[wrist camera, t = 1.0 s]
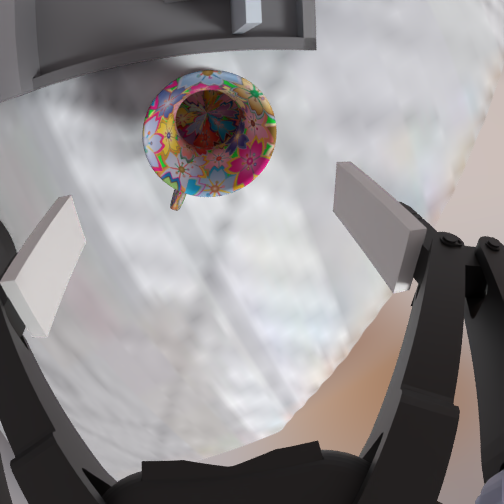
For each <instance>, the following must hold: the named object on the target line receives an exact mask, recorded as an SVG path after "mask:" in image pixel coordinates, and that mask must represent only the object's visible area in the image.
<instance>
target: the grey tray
mask: <svg viewBox="0 0 504 504" xmlns="http://www.w3.org/2000/svg"><path fill="white" fill-rule="evenodd" d="M261 13H262V23H261V24H259V25H257V26H255V27H254V28H252V29H250V30H248V31H247V32H245V33H243V34H232V24H231V3H230V0H187V1H179V2H171V3H165V2H164V1H163V0H0V103H1V102H4V101H7V100H9V99H12V98H15V97H18V96H21V95H24V94H26V93H29V92H32V91H35V90H37V89H40V88H43V87H46V86H49V85H52V84H55V83H58V82H62V81H65V80H68V79H71V78H75V77H78V76H82V75H86V74H89V73H93V72H97V71H101V70H105V69H110V68H114V67H118V66H123V65H128V64H133V63H138V62H143V61H149V60H155V59H161V58H168V57H175V56H182V55H191V54H200V53H210V52H223V51H240V50H316V15H315V0H261Z"/></svg>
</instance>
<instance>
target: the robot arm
mask: <svg viewBox="0 0 504 504" xmlns="http://www.w3.org/2000/svg"><path fill="white" fill-rule="evenodd" d="M333 212H334V213H335V214H336V216H337V217H338V218H339V220H340V221H341V222H342V223H343V225H344V226H345V227H346V229H347V230H348V231H349V233H350V234H351V235H352V237H353V238H354V239H355V241H356V242H357V243H358V245H359V246H360V247H361V249H362V250H363V251H364V253H365V254H366V256H367V257H368V258H369V260H370V261H371V262H372V264H373V265H374V267H375V268H376V269H377V271H378V272H379V274H380V275H381V276H382V278H383V279H384V281H385V282H386V284H387V285H388V287H389V288H390V289H391V291H392V292H393V293H398V292H402V291H407V290H409V289H410V286H411V283H412V280H413V277H414V279H415V280H416V281H417V282H418V287H417V290H416V293H415V295H414V298H413V301H412V304H411V306H412V310H411V314H410V318H409V322H408V326H407V330H406V333H405V337H404V340H403V344H402V347H401V351H400V354H399V357H398V360H397V363H396V366H395V370H394V373H393V376H392V379H391V381H390V384H389V387H388V390H387V393H386V396H385V398H384V401H383V404H382V406H381V409H380V412H379V414H378V417H377V419H376V422H375V424H374V427H373V430H372V432H371V434H370V436H369V438H368V440H367V442H366V444H365V446H364V448H363V450H362V451H361V453H360V455H359V457H357V456H355V455H352V454H349V453H345V452H340V451H333V450H321V449H320V446H319V443H318V441H315V442H310V443H305V444H301V445H296V446H292V447H286V448H281V449H275V450H273V451H270V452H268V453H266V454H263V455H261V456H258V457H256V458H253V459H251V460H248V461H246V462H243V463H241V464H238V465H235V466H230V467H225V466H217V465H210V464H203V463H197V462H191V461H185V460H178V461H142V471H141V472H137V473H135V474H132V475H129V476H127V477H125V478H123V479H121V480H120V481H118V482H117V481H116V480H115V479H114V478H113V477H111V476H110V475H109V474H108V473H107V472H106V470H105V469H104V468H103V467H102V466H101V464H100V463H99V462H98V460H97V459H96V458H95V456H94V455H93V454H92V452H91V451H90V449H89V448H88V447H87V445H86V444H85V442H84V441H83V440H82V438H81V437H80V435H79V434H78V432H77V431H76V429H75V428H74V426H73V425H72V423H71V421H70V420H69V418H68V417H67V415H66V414H65V412H64V410H63V409H62V407H61V405H60V404H59V402H58V400H57V399H56V397H55V395H54V393H53V392H52V390H51V388H50V386H49V384H48V383H47V381H46V379H45V377H44V375H43V373H42V371H41V369H40V367H39V365H38V363H37V361H36V359H35V357H34V355H33V353H32V351H31V349H30V347H29V345H28V343H27V340H26V339H25V338H24V336H23V335H22V334H23V332H24V329H25V327H26V329H27V330H28V332H29V333H30V335H31V336H32V338H42V337H48V334H49V332H50V329H51V326H52V323H53V320H54V318H55V315H56V312H57V310H58V307H59V304H60V302H61V299H62V297H63V294H64V292H65V289H66V287H67V284H68V282H69V280H70V277H71V275H72V273H73V270H74V268H75V266H76V263H77V261H78V259H79V257H80V255H81V252H82V250H83V248H84V246H85V244H86V239H85V236H84V233H83V230H82V227H81V224H80V221H79V218H78V215H77V212H76V208H75V205H74V202H73V198H72V195H68V196H63V197H59V198H58V199H57V200H56V201H55V203H54V204H53V205H52V207H51V208H50V209H49V210H48V212H47V213H46V214H45V216H44V217H43V218H42V220H41V221H40V222H39V224H38V225H37V226H36V228H35V229H34V231H33V232H32V233H31V235H30V236H29V238H28V239H27V240H26V242H25V243H24V245H23V246H22V248H21V249H20V251H19V252H18V253H16V249H15V246H14V243H13V241H12V239H11V237H10V235H9V233H8V231H7V230H6V228H5V227H4V225H3V224H2V223H1V221H0V421H1V423H2V426H3V428H4V431H5V433H6V436H7V438H8V441H9V443H10V445H11V448H12V450H13V452H14V455H15V458H14V459H13V460H11V462H10V466H11V469H12V472H13V474H14V476H15V478H16V480H17V482H18V484H19V486H20V488H21V490H22V492H23V494H24V496H25V498H26V499H27V501H28V503H29V504H442V503H440V502H438V501H437V499H438V496H439V493H440V490H441V487H442V484H443V480H444V477H445V473H446V470H447V466H448V463H449V459H450V456H451V452H452V448H453V444H454V440H455V435H456V431H457V426H458V421H459V413H460V410H459V407H458V406H454V404H453V402H454V395H455V389H456V383H457V377H458V370H459V363H460V354H461V345H462V334H463V322H464V319H465V324H466V329H467V334H468V339H469V344H470V349H471V355H472V361H473V367H474V375H475V382H476V389H477V399H478V410H479V422H480V440H481V462H482V471H483V478H484V483H485V484H484V486H483V489H482V491H481V495H480V496H478V498H477V499H476V501H475V504H504V245H503V244H502V243H500V242H499V240H497V239H495V238H493V237H492V238H491V237H486V236H484V237H481V238H480V239H479V241H478V243H477V246H476V247H470V246H464V243H463V241H462V240H461V239H460V238H458V237H457V236H455V235H453V234H450V233H447V232H437V231H436V230H435V229H434V228H433V227H432V226H431V225H430V224H429V223H427V222H426V221H425V220H424V219H422V217H421V216H420V215H419V214H417V212H415V211H414V210H413V209H412V208H411V207H409V206H408V205H406V204H404V203H402V202H398V201H397V200H396V199H395V198H393V197H392V196H391V195H390V194H389V193H388V192H387V191H385V190H384V189H383V188H382V187H381V186H380V185H378V184H377V183H376V182H375V181H374V180H372V179H371V178H370V177H369V176H368V175H366V174H365V173H364V172H363V171H362V170H360V169H359V168H358V167H357V166H355V165H354V164H353V163H352V162H337V167H336V181H335V194H334V207H333ZM0 504H12V500H11V497H10V493H9V489H8V486H7V482H6V478H5V473H4V470H3V465H2V460H1V454H0Z"/></svg>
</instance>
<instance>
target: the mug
mask: <svg viewBox="0 0 504 504" xmlns="http://www.w3.org/2000/svg"><path fill="white" fill-rule="evenodd" d="M275 142H276V121H275V117H274V113H273V111H272V108H271V106H270V104H269V102H268V100H267V99H266V97H265V96H264V95H263V93H262V92H261V91H260V90H259V89H258V88H257V87H256V86H255V85H253V84H252V83H251V82H249V81H248V80H246V79H244V78H242V77H240V76H238V75H235V74H233V73H229V72H225V71H218V70H205V71H198V72H194V73H190V74H187V75H184V76H182V77H180V78H178V79H176V80H175V81H173V82H172V83H170V84H169V85H167V86H166V87H165V88H164V89H163V90H162V91H161V92H160V93H159V94H158V95H157V96H156V98H155V99H154V101H153V102H152V104H151V105H150V107H149V109H148V112H147V114H146V117H145V120H144V125H143V146H144V151H145V154H146V157H147V159H148V162H149V163H150V165H151V167H152V169H153V170H154V171H155V173H156V174H157V175H158V176H159V177H160V178H161V179H162V180H163V181H164V182H165V183H167V184H168V185H169V186H171V187H173V188H174V189H175V190H174V193H173V196H172V200H171V204H170V208H171V209H173V210H176V211H178V210H179V209H180V207H181V205H182V203H183V201H184V199H185V196H186V194H189V195H193V196H200V197H215V196H222V195H226V194H229V193H232V192H235V191H237V190H239V189H241V188H243V187H245V186H246V185H248V184H249V183H250V182H252V181H253V180H254V179H255V178H256V177H257V176H258V175H259V174H260V173H261V172H262V171H263V169H264V168H265V167H266V165H267V163H268V162H269V160H270V158H271V156H272V153H273V150H274V147H275Z"/></svg>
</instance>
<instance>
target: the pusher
mask: <svg viewBox="0 0 504 504" xmlns="http://www.w3.org/2000/svg"><path fill="white" fill-rule="evenodd" d="M163 1H164V2H165V3H171V2H179V1H187V0H163ZM230 3H231V24H232V34H243V33H245V32H247V31H248V30H250V29H252V28H254V27H255V26H257V25H259V24H261V23H262V13H261V0H230Z"/></svg>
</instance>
